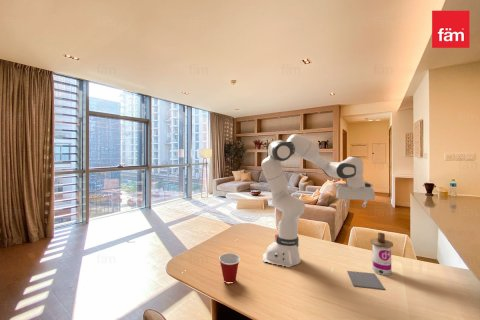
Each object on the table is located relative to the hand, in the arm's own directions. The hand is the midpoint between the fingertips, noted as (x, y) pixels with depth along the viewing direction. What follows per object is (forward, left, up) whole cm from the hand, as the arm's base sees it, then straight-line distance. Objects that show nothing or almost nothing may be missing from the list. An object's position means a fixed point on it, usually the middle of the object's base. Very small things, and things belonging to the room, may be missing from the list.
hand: (355, 206), depth 129 cm
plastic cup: (-67, -38, -31) cm, 83 cm away
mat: (-2, -24, -31) cm, 39 cm away
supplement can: (+9, -14, -31) cm, 35 cm away
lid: (+9, -14, -16) cm, 23 cm away
